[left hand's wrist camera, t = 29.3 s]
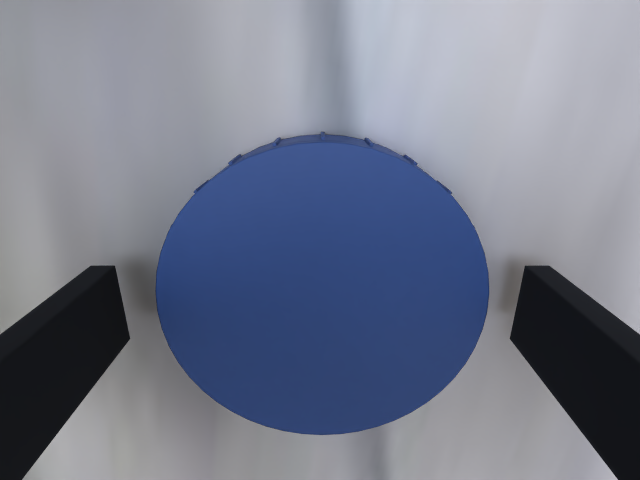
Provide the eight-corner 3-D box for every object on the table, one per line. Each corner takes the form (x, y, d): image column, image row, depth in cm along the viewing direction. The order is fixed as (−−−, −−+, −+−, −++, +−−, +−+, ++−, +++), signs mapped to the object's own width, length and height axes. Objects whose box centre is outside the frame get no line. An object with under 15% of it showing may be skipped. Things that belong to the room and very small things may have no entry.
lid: (429, 409, 16) (443, 449, 14) (175, 382, 15) (156, 420, 14) (507, 156, 12) (538, 168, 10) (175, 111, 12) (149, 114, 10)
